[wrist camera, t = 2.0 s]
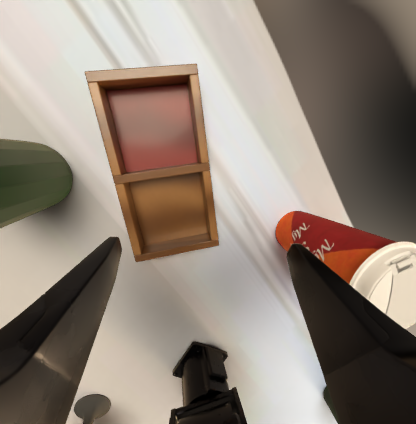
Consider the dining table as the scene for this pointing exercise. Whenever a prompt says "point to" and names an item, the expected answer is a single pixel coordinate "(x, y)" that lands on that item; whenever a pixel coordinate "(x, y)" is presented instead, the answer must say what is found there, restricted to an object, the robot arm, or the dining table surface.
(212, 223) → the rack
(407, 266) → the paper cup
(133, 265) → the dining table surface
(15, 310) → the dining table surface
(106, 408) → the sundae
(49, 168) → the bottle
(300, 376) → the dining table surface
